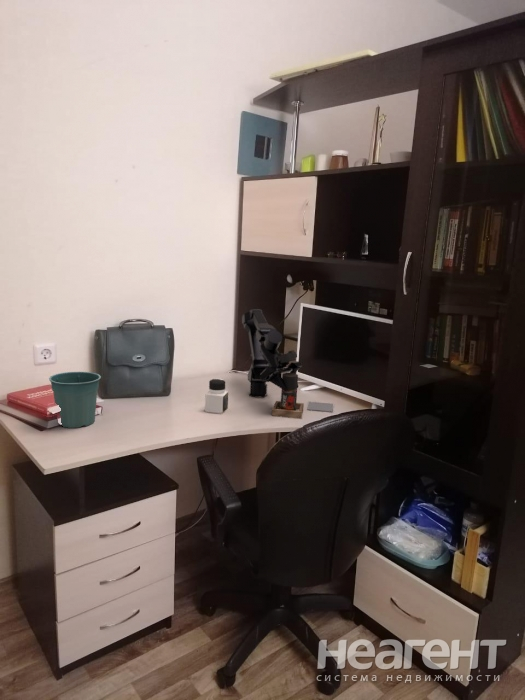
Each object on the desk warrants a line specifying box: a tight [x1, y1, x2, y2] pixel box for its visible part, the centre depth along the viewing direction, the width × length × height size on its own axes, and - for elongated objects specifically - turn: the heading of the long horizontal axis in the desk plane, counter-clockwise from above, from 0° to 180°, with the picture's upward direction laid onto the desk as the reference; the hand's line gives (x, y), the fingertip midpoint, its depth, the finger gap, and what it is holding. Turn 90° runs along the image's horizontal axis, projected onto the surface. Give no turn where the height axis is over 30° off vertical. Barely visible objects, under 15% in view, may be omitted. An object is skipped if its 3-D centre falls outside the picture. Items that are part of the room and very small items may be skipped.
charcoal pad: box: [306, 401, 334, 413], centre depth 199 cm, size 10×10×1 cm
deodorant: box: [280, 372, 299, 411], centre depth 190 cm, size 6×6×15 cm
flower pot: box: [48, 371, 102, 429], centre depth 170 cm, size 16×16×16 cm
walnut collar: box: [271, 400, 304, 419], centre depth 191 cm, size 11×11×2 cm
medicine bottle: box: [204, 378, 229, 415], centre depth 189 cm, size 7×7×12 cm
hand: (292, 389), depth 188 cm, fingers closed on deodorant, 6 cm apart
